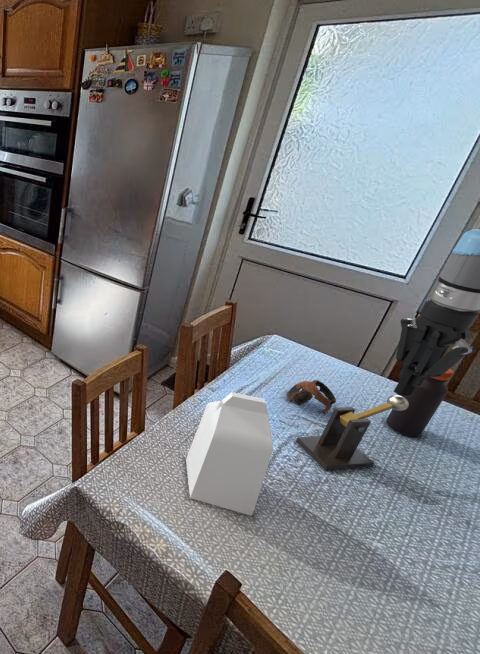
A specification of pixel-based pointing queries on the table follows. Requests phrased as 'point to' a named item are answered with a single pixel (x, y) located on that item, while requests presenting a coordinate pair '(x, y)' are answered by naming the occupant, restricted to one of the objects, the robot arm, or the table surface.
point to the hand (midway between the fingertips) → (402, 393)
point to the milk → (230, 453)
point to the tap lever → (377, 409)
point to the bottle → (420, 406)
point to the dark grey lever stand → (338, 443)
